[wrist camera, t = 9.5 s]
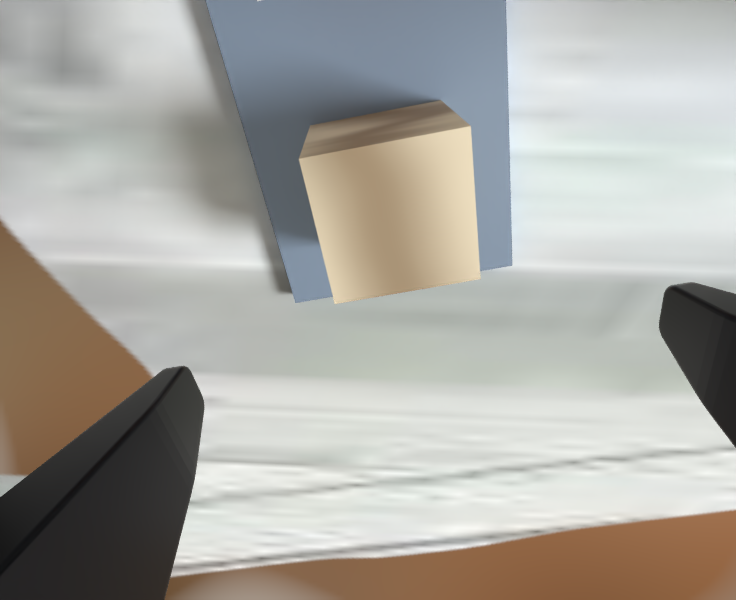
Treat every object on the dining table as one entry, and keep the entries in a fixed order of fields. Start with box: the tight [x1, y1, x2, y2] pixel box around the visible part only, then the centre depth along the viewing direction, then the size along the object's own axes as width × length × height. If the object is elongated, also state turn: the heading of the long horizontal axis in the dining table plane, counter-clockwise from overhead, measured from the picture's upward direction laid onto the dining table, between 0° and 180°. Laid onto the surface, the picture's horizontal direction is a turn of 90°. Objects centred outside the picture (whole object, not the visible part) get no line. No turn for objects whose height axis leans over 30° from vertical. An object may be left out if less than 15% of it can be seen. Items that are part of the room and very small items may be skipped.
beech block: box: [299, 100, 480, 304], centre depth 17 cm, size 5×5×5 cm
